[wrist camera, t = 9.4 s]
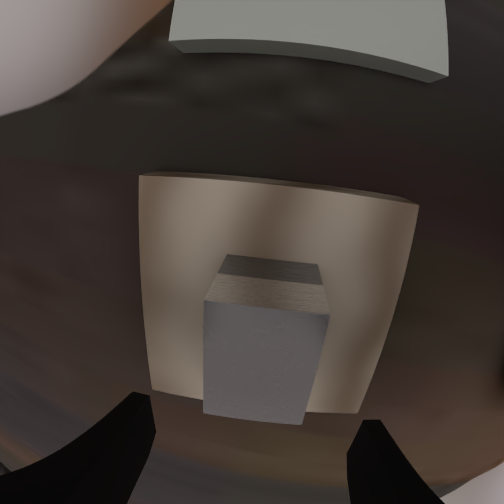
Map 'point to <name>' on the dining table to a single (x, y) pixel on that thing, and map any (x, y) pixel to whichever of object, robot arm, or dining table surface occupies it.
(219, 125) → the dining table surface
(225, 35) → the stand
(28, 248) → the dining table surface
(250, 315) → the block
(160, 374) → the stand
